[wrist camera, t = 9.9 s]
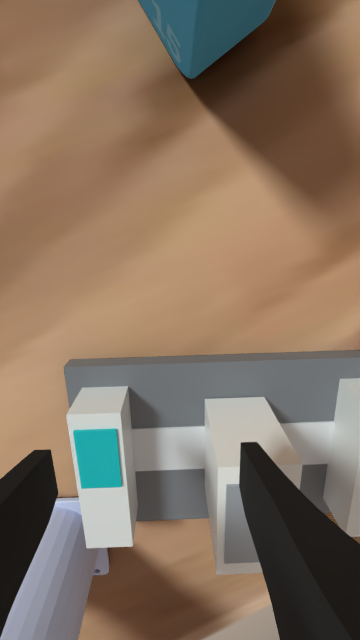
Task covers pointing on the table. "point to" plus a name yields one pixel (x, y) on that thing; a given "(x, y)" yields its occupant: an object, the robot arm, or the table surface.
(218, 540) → the block
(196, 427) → the rail board
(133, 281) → the table surface
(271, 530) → the robot arm
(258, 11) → the data package
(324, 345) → the table surface
